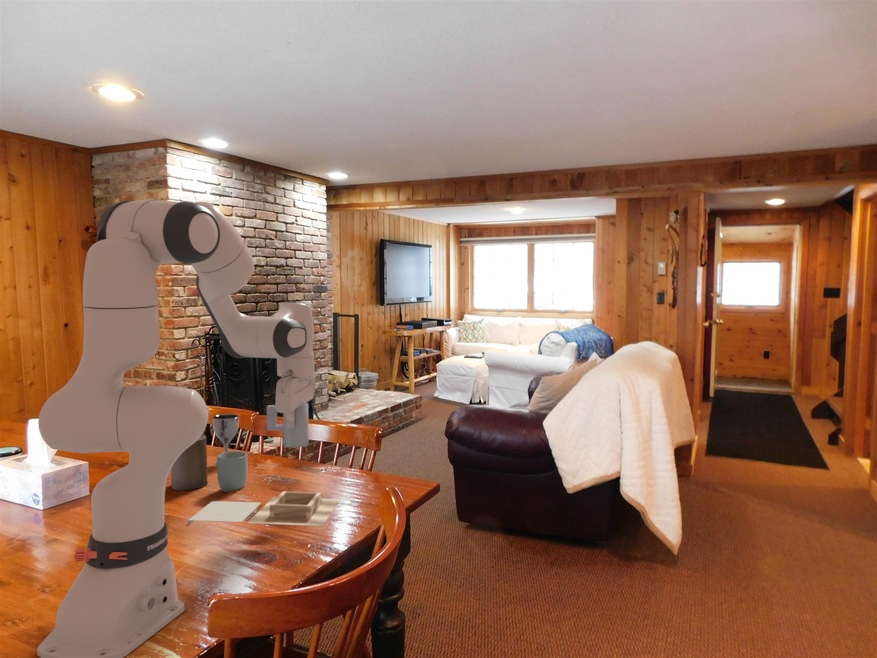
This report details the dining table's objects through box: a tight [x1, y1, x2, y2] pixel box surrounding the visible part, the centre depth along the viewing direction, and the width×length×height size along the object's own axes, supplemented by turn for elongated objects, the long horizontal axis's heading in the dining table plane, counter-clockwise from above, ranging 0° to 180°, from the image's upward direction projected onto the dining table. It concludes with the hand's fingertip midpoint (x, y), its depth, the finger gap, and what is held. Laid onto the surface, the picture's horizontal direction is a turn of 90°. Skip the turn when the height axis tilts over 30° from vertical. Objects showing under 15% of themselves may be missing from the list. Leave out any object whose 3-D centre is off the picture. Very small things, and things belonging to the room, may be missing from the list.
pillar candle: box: [170, 434, 209, 491], centre depth 169 cm, size 10×10×15 cm
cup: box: [216, 450, 248, 493], centre depth 165 cm, size 8×8×10 cm
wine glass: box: [212, 413, 240, 465], centre depth 192 cm, size 8×8×15 cm
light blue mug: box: [266, 402, 309, 449], centre depth 147 cm, size 6×10×10 cm, turn 86°
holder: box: [247, 490, 341, 527], centre depth 148 cm, size 18×18×4 cm
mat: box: [187, 500, 262, 525], centre depth 147 cm, size 13×13×1 cm
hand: (295, 423), depth 147 cm, fingers closed on light blue mug, 6 cm apart
